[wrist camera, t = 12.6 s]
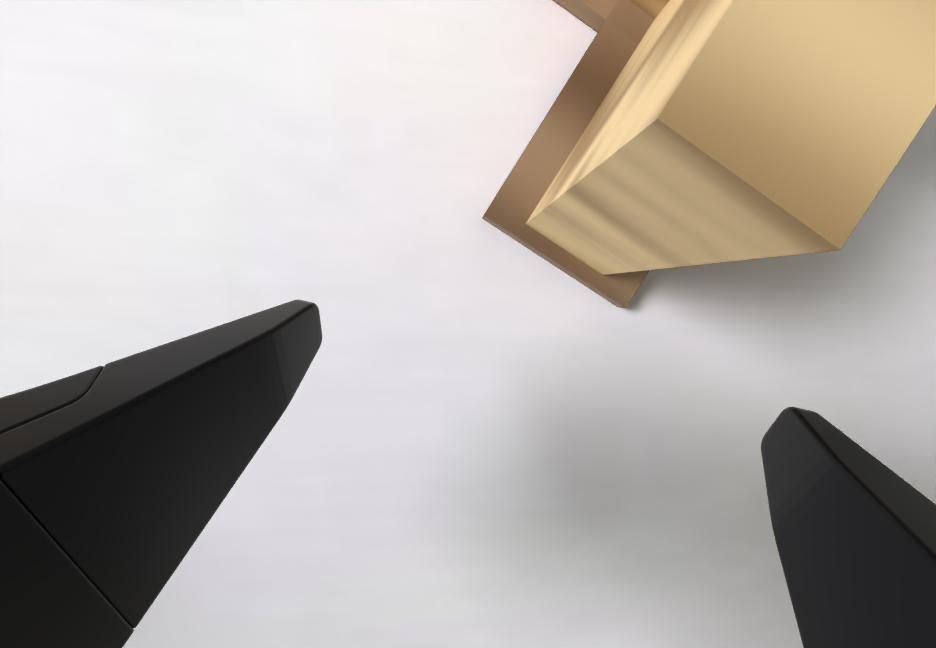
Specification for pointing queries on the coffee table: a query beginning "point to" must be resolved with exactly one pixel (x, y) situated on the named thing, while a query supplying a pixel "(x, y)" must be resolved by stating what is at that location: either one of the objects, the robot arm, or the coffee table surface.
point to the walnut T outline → (573, 140)
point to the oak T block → (744, 132)
